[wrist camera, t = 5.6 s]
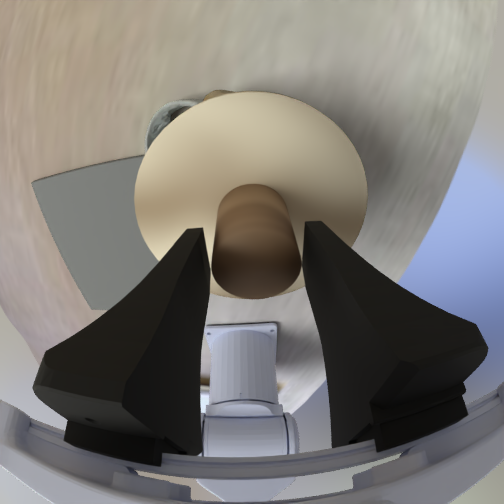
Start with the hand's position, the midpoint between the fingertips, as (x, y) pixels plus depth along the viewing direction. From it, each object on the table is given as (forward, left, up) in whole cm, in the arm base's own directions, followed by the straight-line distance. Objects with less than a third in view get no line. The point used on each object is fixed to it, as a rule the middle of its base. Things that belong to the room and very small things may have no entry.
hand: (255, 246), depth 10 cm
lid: (0, 0, -3) cm, 3 cm away
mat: (-7, +13, -10) cm, 18 cm away
